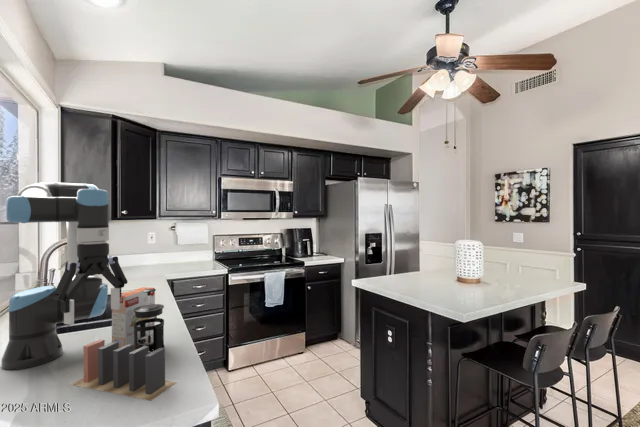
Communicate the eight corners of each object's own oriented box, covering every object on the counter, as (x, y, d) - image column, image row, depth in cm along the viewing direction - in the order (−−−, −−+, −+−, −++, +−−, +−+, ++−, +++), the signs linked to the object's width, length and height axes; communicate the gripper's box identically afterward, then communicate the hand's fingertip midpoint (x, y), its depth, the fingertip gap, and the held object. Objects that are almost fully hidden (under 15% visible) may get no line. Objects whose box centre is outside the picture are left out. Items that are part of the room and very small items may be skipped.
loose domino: (104, 373, 93) (104, 340, 93) (87, 382, 88) (87, 346, 88) (100, 373, 94) (100, 339, 94) (83, 381, 89) (83, 346, 89)
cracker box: (126, 359, 105) (125, 296, 105) (110, 358, 106) (110, 295, 106) (156, 342, 118) (155, 287, 119) (142, 341, 120) (141, 286, 120)
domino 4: (145, 393, 82) (145, 355, 82) (160, 384, 87) (160, 347, 87) (150, 394, 82) (150, 356, 82) (165, 384, 87) (164, 348, 87)
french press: (126, 359, 105) (126, 290, 105) (155, 349, 112) (154, 284, 112) (144, 369, 98) (144, 295, 98) (173, 357, 106) (172, 289, 106)
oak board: (70, 387, 88) (70, 384, 88) (101, 372, 96) (101, 369, 96) (151, 404, 79) (151, 400, 79) (177, 385, 88) (177, 382, 88)
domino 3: (129, 390, 84) (128, 353, 84) (144, 381, 89) (144, 345, 89) (133, 391, 84) (133, 353, 84) (149, 382, 88) (148, 346, 88)
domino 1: (98, 384, 87) (98, 348, 87) (114, 375, 92) (114, 341, 92) (102, 385, 87) (102, 349, 87) (119, 376, 92) (118, 342, 92)
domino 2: (113, 387, 86) (113, 350, 86) (129, 378, 90) (129, 343, 90) (118, 388, 85) (117, 351, 85) (133, 379, 90) (133, 344, 90)
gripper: (55, 247, 78) (55, 333, 78) (139, 239, 102) (140, 304, 102) (34, 246, 80) (35, 329, 80) (121, 238, 104) (122, 303, 104)
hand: (93, 316), depth 91 cm, fingers open, 13 cm apart
